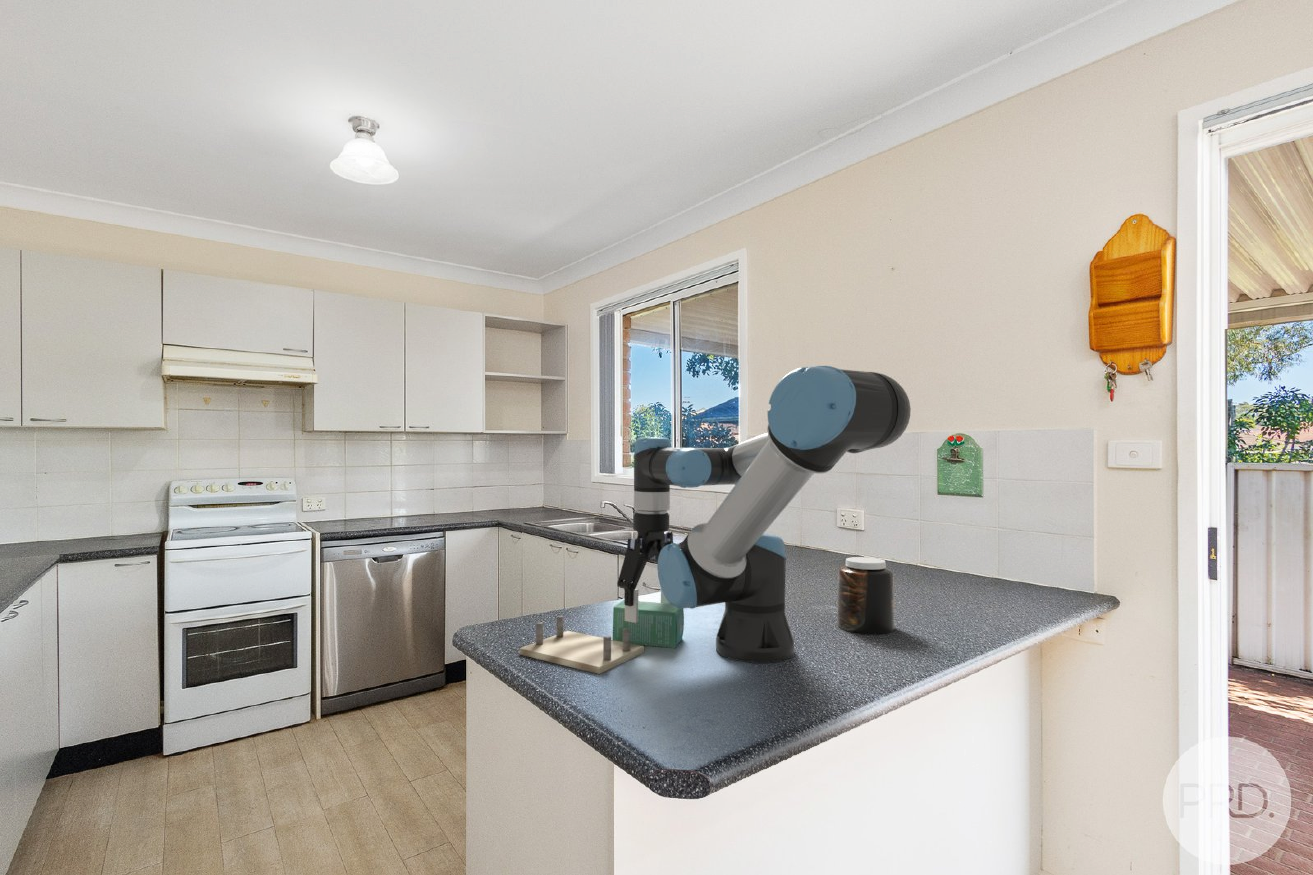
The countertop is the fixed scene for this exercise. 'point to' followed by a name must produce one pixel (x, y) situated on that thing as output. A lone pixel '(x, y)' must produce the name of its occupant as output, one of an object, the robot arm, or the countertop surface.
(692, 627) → the countertop surface
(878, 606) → the jar
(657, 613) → the box
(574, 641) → the tray
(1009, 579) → the countertop surface
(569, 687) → the countertop surface
